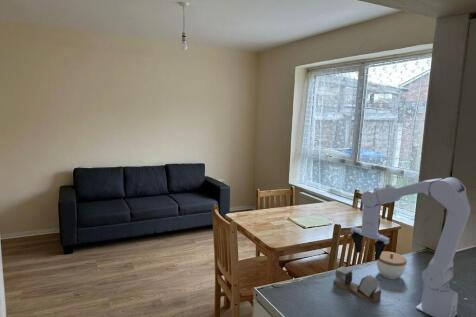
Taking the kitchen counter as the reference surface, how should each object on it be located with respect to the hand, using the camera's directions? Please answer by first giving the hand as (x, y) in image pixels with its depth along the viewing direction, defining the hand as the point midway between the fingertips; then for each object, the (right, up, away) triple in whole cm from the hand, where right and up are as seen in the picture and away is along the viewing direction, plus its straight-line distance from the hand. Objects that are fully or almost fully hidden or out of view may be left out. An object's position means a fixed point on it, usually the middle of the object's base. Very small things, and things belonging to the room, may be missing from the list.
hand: (367, 255), depth 122 cm
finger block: (-4, -10, -10) cm, 14 cm away
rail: (-7, -11, -6) cm, 14 cm away
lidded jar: (+11, -10, +5) cm, 15 cm away
